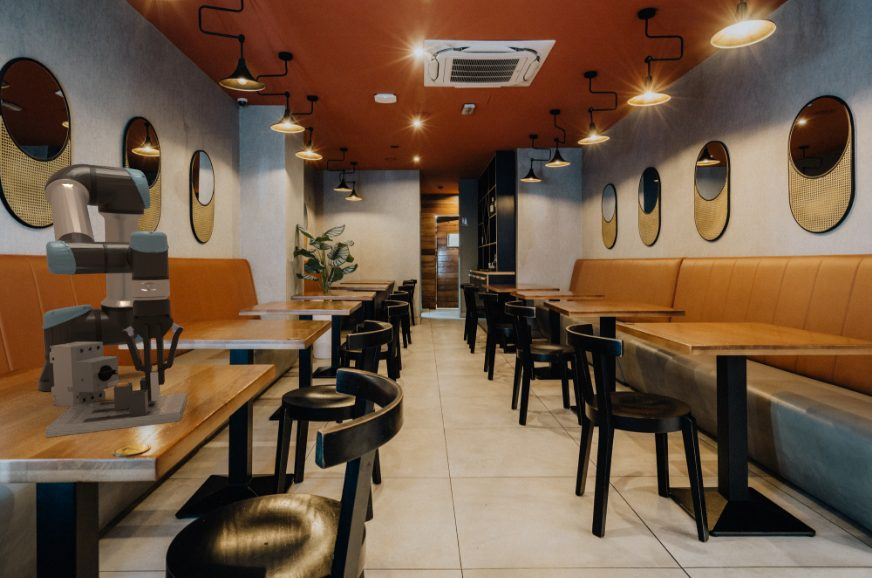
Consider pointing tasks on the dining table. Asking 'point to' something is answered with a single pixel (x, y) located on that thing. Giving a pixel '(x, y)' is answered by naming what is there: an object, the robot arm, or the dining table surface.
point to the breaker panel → (119, 413)
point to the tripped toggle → (122, 395)
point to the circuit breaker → (82, 373)
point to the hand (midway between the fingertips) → (156, 399)
